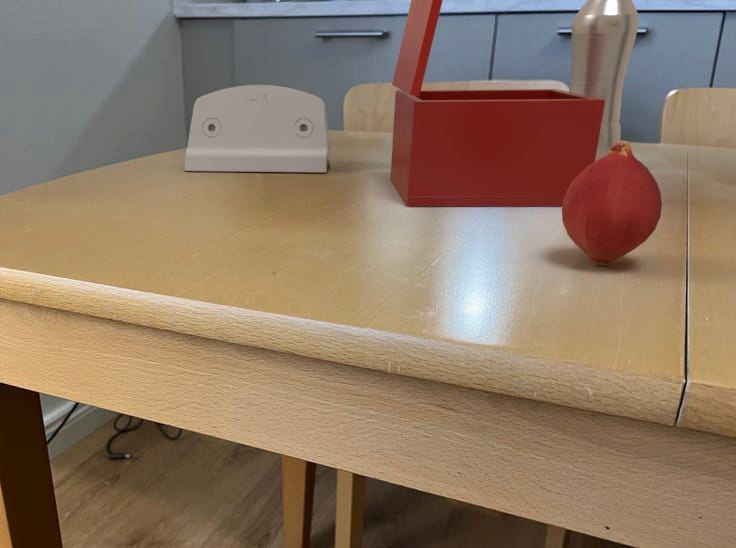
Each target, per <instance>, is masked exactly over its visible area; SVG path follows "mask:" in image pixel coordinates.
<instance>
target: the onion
mask: <svg viewBox="0 0 736 548" xmlns="http://www.w3.org/2000/svg"><path fill="white" fill-rule="evenodd" d="M662 201H663V200H662V192H661V190H660V186H659V184H658V182H657V180H656V178H655V177H654V175H653V174H652V172H651V171H650V170H649V169H648V167H647V166H646V165H644V163H642V162H641V161H640V160H638V159H637V158H636V157H635V156H634V154H633V151H632V148H631V143H630V142H628V141H626V140H620V141H618V142H616V143H615V144H614V145H613V146H611V151H610V152H609V153H608V154H607V155H606V156H604V157H602V158H600V159H599V160H597V161H595V162H593V163H592V164H590V165H589V166H587V167H586V168H585V169H584V170H583V171H582V172H580V173H579V174H578V176H577V177H576V178H575V179H574V180H573V181H572V183H571V184H570V186H569V187H568V189H567V192H566V194H565V196H564V200H563V205H562V206H561V220H562V224H563V226H564V228H565V229H564V230H565V231H566V234H567V236H568V237H569V239H571V241H572V242H573V243H574V244H575V246H577V248H578V249H580V250H581V251H582V252H583V253H584V254H585V255H586V256H587V257H588V259H589V260H590V261H591V262H592V263H594V264H595V265H597V266H607V265H610V264H612V263H613V262H615V261H617V260H619V259H620V258H622V257H624V256H627V254H630V252H633V251H634V250H635V249H637V248H638V247H639V246H641V245H642V244H644V243H645V242H646V241H647V240H648V239H649V237H650V236H652V234H653V233H654V231H655V230H656V228H657V226H658V223H659V221H660V219H661V217H662V207H663V202H662Z"/></svg>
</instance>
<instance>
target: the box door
mask: <svg viewBox="0 0 736 548" xmlns="http://www.w3.org/2000/svg"><path fill="white" fill-rule="evenodd" d="M442 4H443V0H410V5H409V9H408V14H407V17H406V22H405V26H404V30H403V36H402V40H401V44H400V48H399V53H398V57H397V61H396V66H395V70H394V75H393V79H392V83H391V85H392V86H393V87H396V88H397V89H399V90H403V91H404V92H406V93H408V94H410V95H414V96H419V95H420V91H421V90H422V87H423V82H424V79H425V74H426V72H427V66H428V63H429V58H430V54H431V51H432V50H431V49H432V46H433V42H434V37H435V33H436V29H437V25H438V21H439V17H440V13H441V10H442V9H441V8H442Z"/></svg>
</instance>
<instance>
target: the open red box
mask: <svg viewBox="0 0 736 548" xmlns="http://www.w3.org/2000/svg"><path fill="white" fill-rule="evenodd" d="M604 104H605V100H603V99H599V98H594V97H590V96H585V95H581V94H576V93H572V92H569V91H566V90H562V89H557V88H526V89H525V88H522V89H521V88H519V89H517V88H516V89H513V88H512V89H511V88H510V89H421V91H420V95H419V96H414V95H410V94H408V93H406V92H404V91H403V90H401V89H399V90H395V97H394V113H393V129H392V130H393V131H392V146H391V163H390V176H389V177H390V178H389V179H390V183H391V184H392V185H393V187H394V188H395V190H396V191H397V193H398V194H399V196H400V198H401V199H402V200H403V202H404V204H405V206H406V207H562V205H563V200H564V196H565V194H566V192H567V189H568V187H569V186H570V184H571V183H572V181H573V180H574V179H575V178H576V177H577V176H578V174H579V173H580V172H582V171H583V170H584V169H585V168H586V167H587V166H589V165H590V164H592V163H593V162H595V158H596V152H597V146H598V140H599V134H600V128H601V122H602V116H603V110H604Z"/></svg>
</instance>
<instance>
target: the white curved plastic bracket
mask: <svg viewBox="0 0 736 548" xmlns="http://www.w3.org/2000/svg"><path fill="white" fill-rule="evenodd" d="M327 111H328V110H327V107H326V103H325V101H324V100H323V99H322V98H320V97H319V96H317V95H315V94H312V93H309V92H306V91H303V90H299V89H296V88H292V87H287V86H280V85H273V84H272V85H270V84H246V85H238V86H237V85H236V86H233V87H227V88H223V89H219V90H216V91H213V92H209V93H207V94H204V95H201V96H200V97H198V98H196V100H195V102H194V103H193V108H192V116H191V121H190V128H189V133H188V141H187V147H186V151H185V155H184V172H189V173H191V172H192V173H193V172H195V173H196V172H198V173H200V172H201V173H202V172H203V173H272V174H273V173H274V174H275V173H277V174H278V173H282V174H285V173H287V174H327V173H328V167H330V166H332V159H331V158H332V157H331V147H330V137H329V135H330V134H329V125H328V113H327Z"/></svg>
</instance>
